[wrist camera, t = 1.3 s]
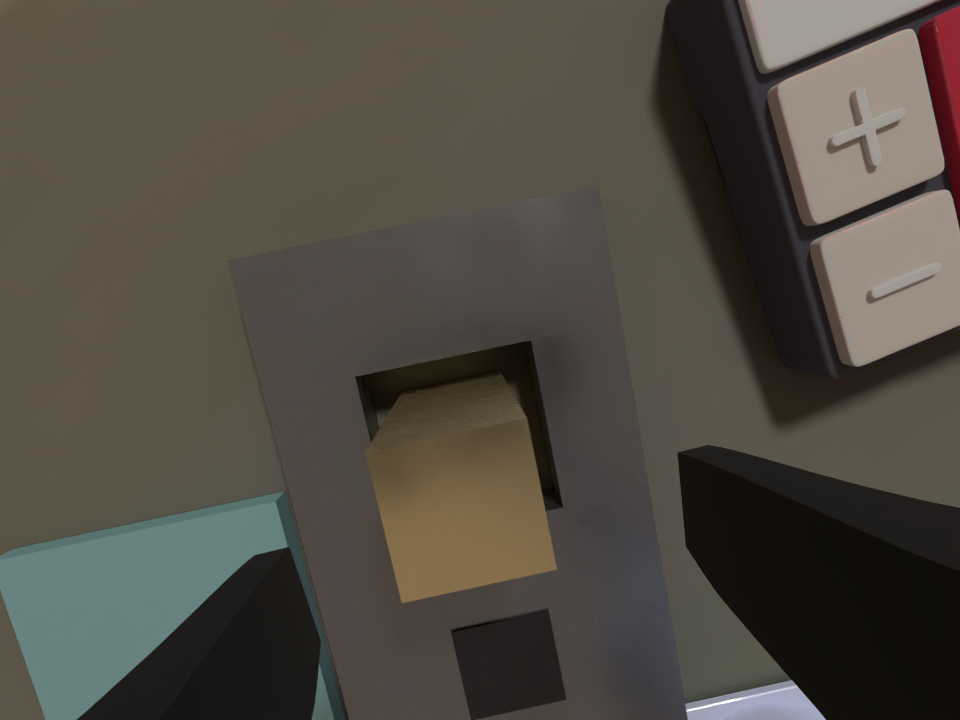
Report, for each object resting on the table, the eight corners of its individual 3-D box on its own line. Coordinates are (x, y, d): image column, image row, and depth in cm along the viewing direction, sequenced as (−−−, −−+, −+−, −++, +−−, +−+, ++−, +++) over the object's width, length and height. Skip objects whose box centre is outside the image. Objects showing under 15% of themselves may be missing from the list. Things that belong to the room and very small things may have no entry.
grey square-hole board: (670, 702, 22) (692, 743, 20) (381, 766, 22) (373, 814, 20) (583, 196, 19) (599, 184, 17) (251, 264, 19) (226, 260, 17)
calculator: (848, 390, 17) (720, -71, 15) (770, 367, 22) (659, 5, 19) (1146, 266, 17) (1072, -222, 15) (1009, 267, 22) (931, -110, 19)
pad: (353, 751, 22) (348, 772, 21) (102, 806, 22) (85, 830, 21) (284, 491, 20) (275, 501, 19) (13, 548, 20) (-10, 561, 19)
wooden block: (519, 465, 21) (556, 569, 13) (423, 486, 21) (402, 603, 13) (499, 371, 20) (527, 418, 12) (402, 391, 20) (365, 452, 12)
